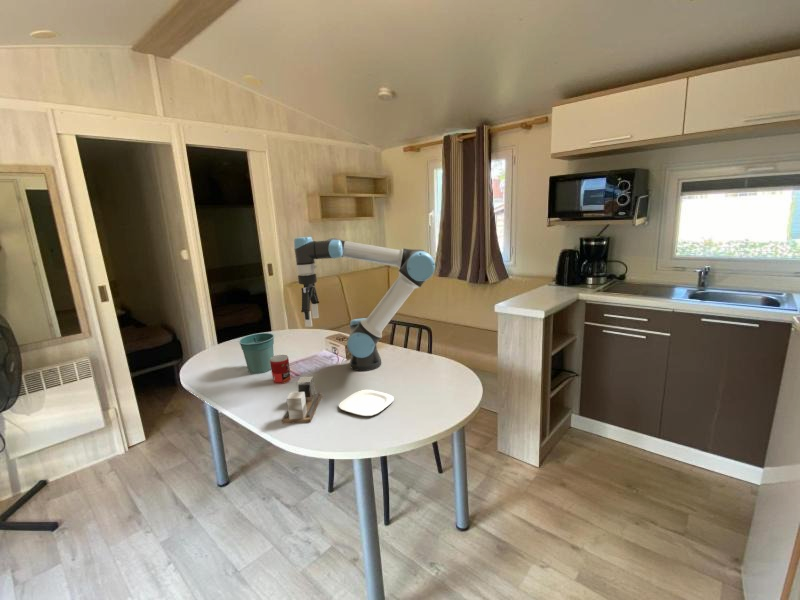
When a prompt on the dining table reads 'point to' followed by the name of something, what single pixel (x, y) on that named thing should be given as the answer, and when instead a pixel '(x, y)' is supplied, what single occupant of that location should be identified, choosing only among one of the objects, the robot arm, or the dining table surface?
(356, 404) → the plate
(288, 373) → the canned food
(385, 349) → the dining table surface
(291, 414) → the rail board
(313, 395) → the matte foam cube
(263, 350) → the flower pot
